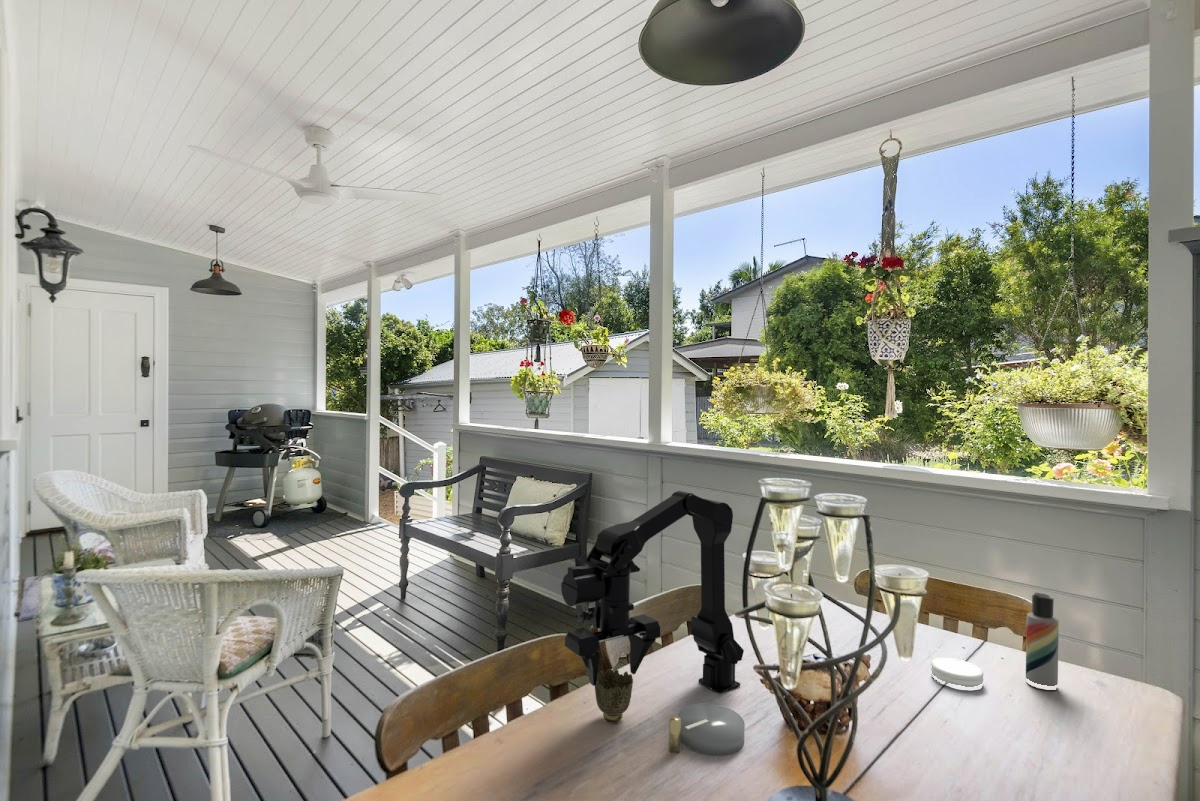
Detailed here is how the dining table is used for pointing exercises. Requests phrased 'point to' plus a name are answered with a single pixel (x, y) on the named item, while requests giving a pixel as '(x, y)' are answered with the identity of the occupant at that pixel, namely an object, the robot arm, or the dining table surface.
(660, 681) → the dining table surface
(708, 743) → the computer mouse
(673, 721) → the brass dowel
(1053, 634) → the lotion bottle
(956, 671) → the coaster
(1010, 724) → the dining table surface
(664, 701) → the dining table surface
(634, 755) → the dining table surface
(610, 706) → the cup
